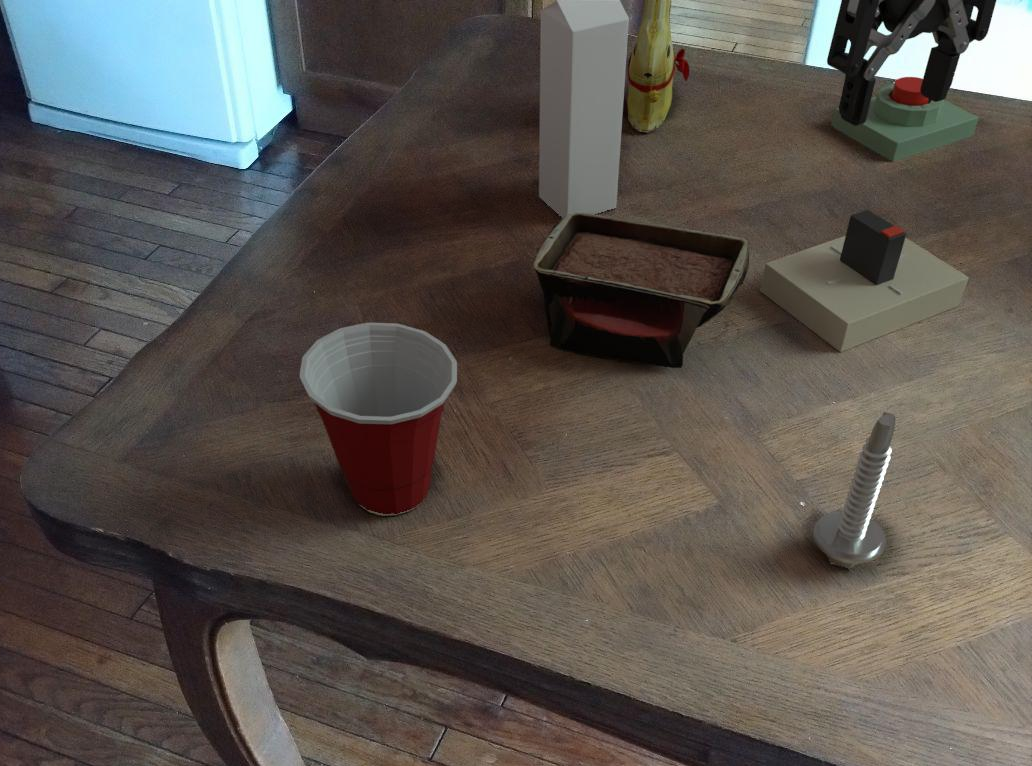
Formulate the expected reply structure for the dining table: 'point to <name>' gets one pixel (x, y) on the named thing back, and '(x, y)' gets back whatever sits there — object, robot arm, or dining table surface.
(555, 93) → the milk
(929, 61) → the robot arm
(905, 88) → the power button
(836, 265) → the panel
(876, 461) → the screw
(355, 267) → the dining table surface
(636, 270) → the baking dish
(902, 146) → the button block
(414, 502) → the plastic cup
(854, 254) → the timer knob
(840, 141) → the dining table surface
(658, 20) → the chocolate bunny
